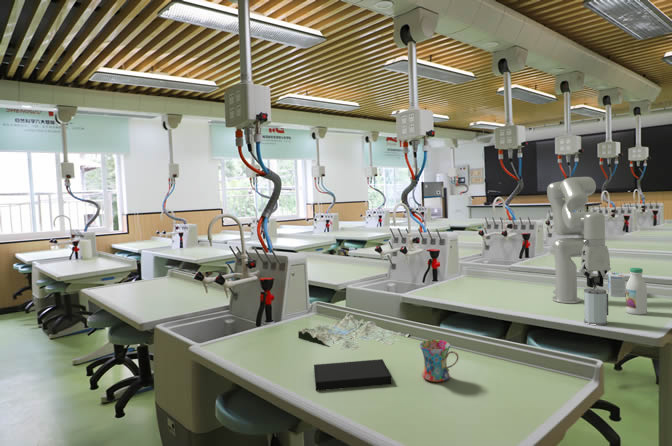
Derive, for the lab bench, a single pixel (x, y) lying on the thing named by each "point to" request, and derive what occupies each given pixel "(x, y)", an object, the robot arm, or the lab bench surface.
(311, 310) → the lab bench surface
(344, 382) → the external hard drive
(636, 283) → the milk bottle
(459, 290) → the lab bench surface
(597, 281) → the plunger
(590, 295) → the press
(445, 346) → the mug
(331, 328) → the topographic map model
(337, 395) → the lab bench surface
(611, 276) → the light bulb box
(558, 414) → the lab bench surface
